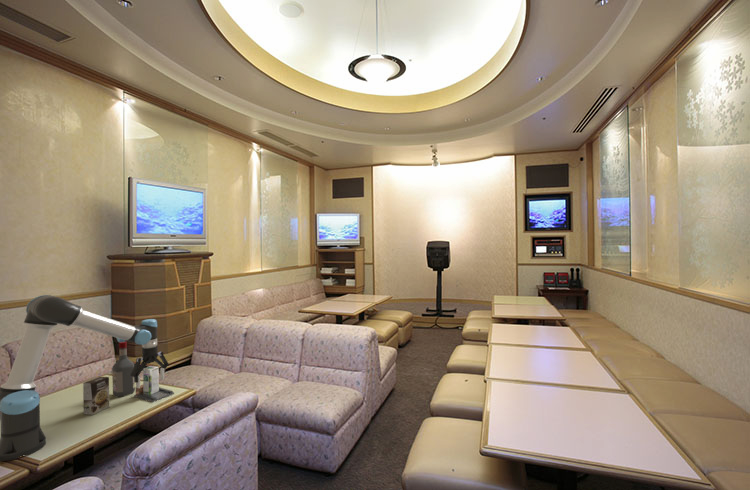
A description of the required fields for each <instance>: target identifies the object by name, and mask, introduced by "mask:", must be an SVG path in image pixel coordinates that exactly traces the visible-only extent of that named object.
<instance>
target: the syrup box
mask: <svg viewBox="0 0 750 490" xmlns="http://www.w3.org/2000/svg"><path fill="white" fill-rule="evenodd" d="M159 372H160V368H159V366H156V365H155V366H153V365H151V366H150V365H149V366H147V367H146V366H145V367H144V368H143V370H142V376H143V377H142V380H143V381H142V382H143V383H142V385H143V394H148V395H151V394H154V393H156V392H158V391H159V387H160V381H159V380H160V375H159Z"/></svg>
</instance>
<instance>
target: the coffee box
mask: <svg viewBox="0 0 750 490" xmlns="http://www.w3.org/2000/svg"><path fill="white" fill-rule="evenodd" d="M82 385H83V386H82V388H83V389H82V393H83V396H82V397H83V400H82V402H83V414H84V415H91V416H93V415H95V414H97V413H100V412H101V411H104V410H106V409H109V408H110V377H109V376H98V377H95V378H93V379H91V380H87V381H83V383H82Z"/></svg>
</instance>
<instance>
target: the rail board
mask: <svg viewBox="0 0 750 490" xmlns="http://www.w3.org/2000/svg"><path fill="white" fill-rule="evenodd" d="M174 394H175V392H174V391H173V390H170V389H167V388H162V387H160V386H159V391H158V392H156V393H154V394H151V395H148V394H143V384H140V388H136V387H135V394H133V398H134V397H135V398H137V399H141V400H144V401H146V400H147V401H146V402H149V401H151V402H150V403H155V402H158V401H159V400H160V401H161V400H162V398H163V399H165V398H167V397H170V396H173V395H174ZM157 400H158V401H157ZM154 401H155V402H154Z"/></svg>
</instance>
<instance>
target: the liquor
mask: <svg viewBox="0 0 750 490" xmlns="http://www.w3.org/2000/svg"><path fill="white" fill-rule="evenodd" d="M127 343H128V341H126V342H118V348H119V352H118V353H119V358H118V360H117V361H116V362H115V363H114V364H113V365H112V368H111V373H112V376H111V377H112V395H113V396H114V397H117V398H121V397H126V396H130V395H132V394H133V393H135V392H136V383H135V382H134V377H132V376H130V375H131V372H132V370H133V368H134V366H135V363H134V362H133V361H132V360H130V358H128V353H127V347H128V346H127V345H128V344H127Z"/></svg>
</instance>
